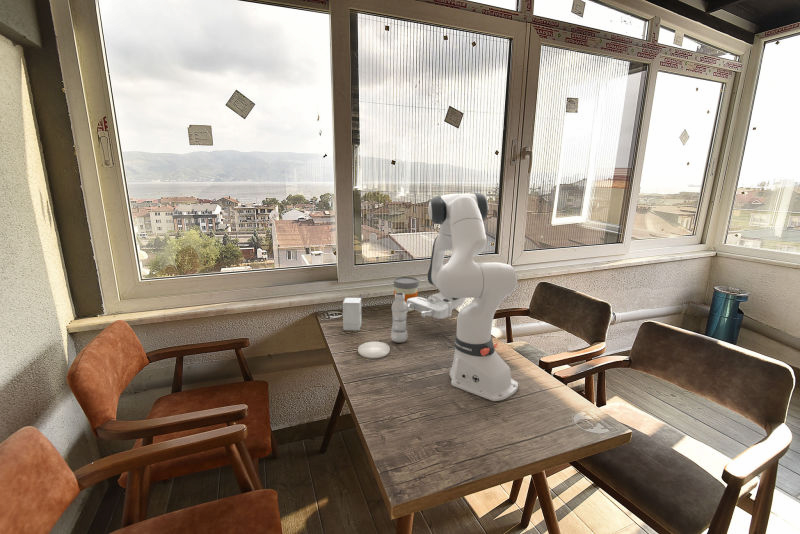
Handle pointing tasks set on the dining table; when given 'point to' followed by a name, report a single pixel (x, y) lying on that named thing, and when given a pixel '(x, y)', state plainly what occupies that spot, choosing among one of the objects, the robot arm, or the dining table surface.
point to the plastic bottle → (399, 318)
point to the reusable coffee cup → (406, 287)
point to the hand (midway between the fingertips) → (413, 311)
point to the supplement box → (352, 314)
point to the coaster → (373, 349)
